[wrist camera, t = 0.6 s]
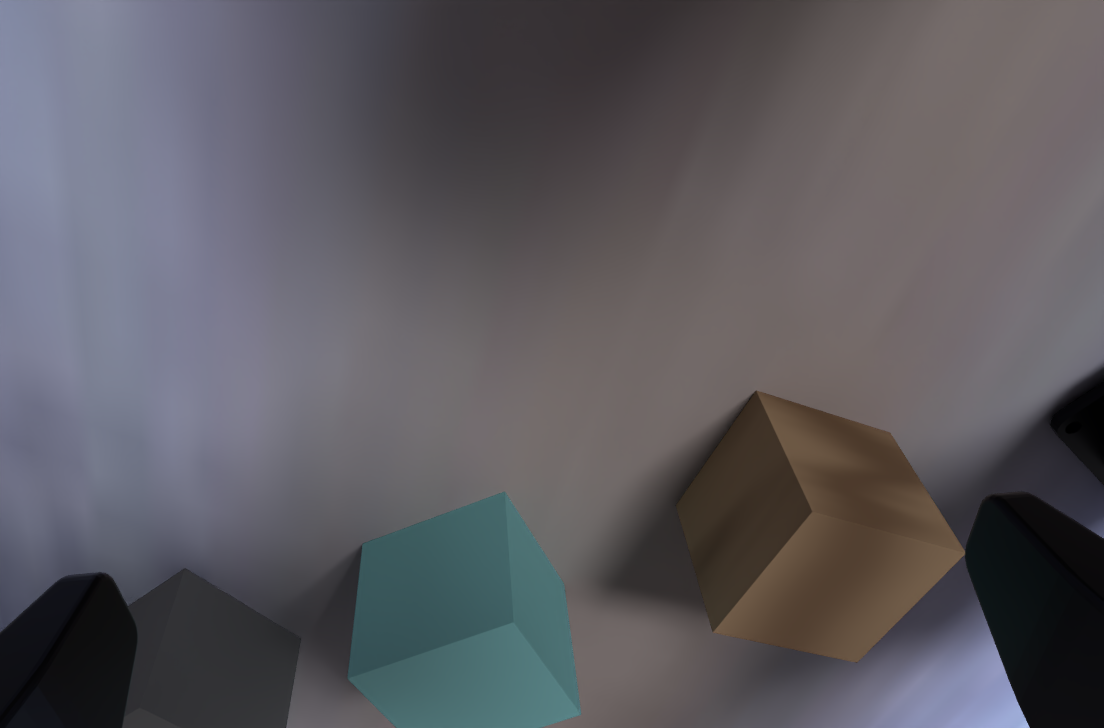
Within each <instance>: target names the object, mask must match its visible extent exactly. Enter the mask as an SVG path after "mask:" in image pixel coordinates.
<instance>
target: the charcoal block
mask: <svg viewBox="0 0 1104 728" xmlns="http://www.w3.org/2000/svg"><path fill="white" fill-rule="evenodd" d="M128 608H129V610H130V612H131V614H132V616H133V618H134V620H135V623H136V626H137V632H138V644H137V650H136V656H135V661H134V667H133V672H132V678H131V683H130V689H129V694H128V700H127V705H126V711H125V716H124V722H123V727H122V728H286V724H287V718H288V712H289V707H290V701H291V695H292V689H293V683H294V677H295V671H296V665H297V660H298V654H299V648H300V642H301V638H299V637H297V636H296V635H294V634H292V633H291V632H289V631H287V630H286V629H284V628H283V627H281V626H279V625H278V624H276V623H274V622H273V621H271V620H269V619H268V618H266V617H264V616H263V615H261V614H260V613H258V612H256V611H255V610H253V609H251V608H250V607H248V606H246V605H245V604H243V603H241V602H240V601H238V600H237V599H235V598H233V597H232V596H230V595H228V594H227V593H225V592H223V591H222V590H220V589H218V588H217V587H215V586H214V585H212V584H210V583H209V582H207V581H205V580H204V579H202V578H200V577H199V576H197V575H195V574H194V573H192V572H191V571H189V570H187V569H186V568H185V569H183V570H182V571H180V572H179V573H177V574H176V575H174V576H173V577H171V578H170V579H168V580H167V581H165V582H164V583H162V584H161V585H159V586H158V587H156V588H155V589H153V590H152V591H150V592H149V593H147V594H146V595H144V596H143V597H141V598H140V599H138V600H137V601H135V602H134V603H132V604H131V605H129V606H128Z"/></svg>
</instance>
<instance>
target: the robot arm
mask: <svg viewBox="0 0 1104 728" xmlns="http://www.w3.org/2000/svg"><path fill="white" fill-rule="evenodd" d="M1050 426H1051V428H1052V430H1053V431H1054V432H1055V433H1056V434H1057V435H1058V437H1059V438H1060V439H1061V440H1062V441H1063V442H1064V443H1065V444H1066V445H1067V446H1068V447H1069V448H1070V449H1071V451H1072V452H1073V453H1074V454H1075V455H1076V456H1077V457H1078V458H1079V459H1080V460H1081V461H1082V462H1083V463H1084V464H1085V466H1086V467H1087V468H1088V469H1089V470H1090V471H1091V472H1092V473H1093V474H1094V475H1095V476H1096V477H1097V478H1098V479H1099V481H1100V482H1101V483H1102V484H1103V485H1104V382H1103V383H1101V384H1100V385H1098V386H1097V387H1095V388H1094V389H1092V390H1091V391H1089V392H1088V393H1086V394H1085V395H1083V396H1082V397H1080V398H1078V399H1077V400H1075V401H1074V402H1072V403H1071V404H1069V405H1068V406H1066V407H1065V408H1063V409H1062V410H1060V411H1059V412H1058V413H1057V414H1055V415H1054V416H1053V418H1052V419H1051V422H1050ZM965 561H966V566H967V569H968V573H969V575H970V578H971V581H972V583H973V586H974V589H975V591H976V594H977V597H978V599H979V602H980V605H981V607H982V610H983V612H984V615H985V618H986V620H987V623H988V626H989V628H990V631H991V634H992V636H993V639H994V642H995V644H996V647H997V650H998V652H999V655H1000V658H1001V660H1002V663H1003V666H1004V668H1005V671H1006V674H1007V676H1008V679H1009V682H1010V684H1011V686H1012V689H1013V691H1014V694H1015V696H1016V699H1017V701H1018V704H1019V706H1020V708H1021V710H1022V712H1023V714H1024V716H1025V718H1026V721H1027V723H1028V725H1029V727H1030V728H1104V538H1102V537H1100V536H1099V535H1097V534H1096V533H1094V532H1092V531H1091V530H1089V529H1088V528H1086V527H1084V526H1083V525H1081V524H1080V523H1078V522H1076V521H1075V520H1073V519H1072V518H1070V517H1068V516H1067V515H1065V514H1064V513H1062V512H1060V511H1059V510H1057V509H1056V508H1054V507H1052V506H1051V505H1049V504H1048V503H1046V502H1044V501H1043V500H1041V499H1040V498H1038V497H1036V496H1034V495H1032V494H1030V493H1027V492H1009V493H997V494H991V495H988V496H987V497H986V498H985V499H984V500H983V501H982V503H981V505H980V508H979V510H978V513H977V516H976V519H975V522H974V525H973V527H972V530H971V533H970V536H969V539H968V542H967V544H966V549H965ZM137 644H138V632H137V626H136V623H135V620H134V618H133V616H132V614H131V612H130V610H129V608H128V606H127V604H126V603H125V601H124V599H123V597H122V595H121V593H120V591H119V589H118V587H117V585H116V583H115V581H114V580H113V578H112V577H111V576H109V575H108V574H106V573H102V572H98V573H86V574H75V575H68V576H65V577H63V578H61V579H60V580H58V581H57V582H56V583H54V584H53V585H52V586H51V587H50V588H49V589H48V590H47V591H46V592H44V593H43V594H42V595H41V596H40V597H39V598H38V599H37V600H36V601H35V602H33V603H32V604H31V605H30V606H29V607H28V608H27V609H26V610H25V611H23V612H22V613H21V614H20V615H19V616H18V617H17V618H16V619H15V620H14V621H12V622H11V623H10V624H9V625H8V626H7V627H6V628H5V629H4V630H3V631H1V632H0V728H122V727H123V722H124V716H125V711H126V705H127V700H128V694H129V689H130V683H131V678H132V672H133V667H134V661H135V656H136V650H137Z"/></svg>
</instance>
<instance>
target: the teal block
mask: <svg viewBox="0 0 1104 728" xmlns="http://www.w3.org/2000/svg"><path fill="white" fill-rule="evenodd" d="M347 679H348V680H349V681H350V682H351V683H352V684H353V685H354V686H355V687H356V688H357V689H358V690H359V691H360V692H361V693H362V694H363V695H364V696H365V697H366V698H367V699H368V700H369V701H370V702H371V703H372V704H373V705H374V706H375V707H376V708H377V709H378V710H379V711H380V712H381V713H382V714H383V715H384V716H385V717H386V718H387V719H388V720H389V721H390V722H391V723H392V724H393V725H394V726H395V727H396V728H541V727H544V726H547V725H550V724H554V723H557V722H560V721H563V720H566V719H569V718H572V717H576V716H579V715H581V709H580V702H579V694H578V686H577V679H576V671H575V664H574V656H573V648H572V641H571V633H570V625H569V618H568V610H567V603H566V595H565V587H564V583H563V582H562V580H561V579H560V577H559V576H558V574H557V572H556V571H555V569H554V568H553V566H552V565H551V563H550V561H549V560H548V558H547V557H546V555H545V554H544V552H543V551H542V549H541V547H540V546H539V544H538V543H537V541H536V540H535V538H534V536H533V535H532V533H531V532H530V530H529V529H528V527H527V526H526V524H525V522H524V521H523V519H522V518H521V516H520V515H519V513H518V511H517V510H516V508H515V507H514V505H513V504H512V502H511V501H510V499H509V497H508V496H507V494H506V493H505V492H502V493H499V494H497V495H494V496H491V497H489V498H486V499H483V500H480V501H478V502H475V503H472V504H469V505H467V506H464V507H461V508H459V509H456V510H453V511H450V512H448V513H445V514H442V515H439V516H437V517H434V518H431V519H429V520H426V521H423V522H420V523H418V524H415V525H412V526H409V527H407V528H404V529H401V530H399V531H396V532H393V533H390V534H388V535H385V536H382V537H379V538H377V539H374V540H371V541H369V542H366V543H363V546H362V555H361V563H360V572H359V581H358V590H357V599H356V608H355V616H354V625H353V634H352V643H351V652H350V661H349V670H348V678H347Z"/></svg>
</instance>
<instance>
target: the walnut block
mask: <svg viewBox="0 0 1104 728" xmlns="http://www.w3.org/2000/svg"><path fill="white" fill-rule="evenodd" d="M676 508H677V511H678V514H679V518H680V521H681V525H682V528H683V532H684V535H685V539H686V542H687V545H688V549H689V552H690V556H691V559H692V563H693V566H694V569H695V573H696V576H697V580H698V583H699V587H700V590H701V594H702V597H703V600H704V604H705V607H706V611H707V614H708V618H709V621H710V625H711V628H712V631H713V633H717V634H722V635H727V636H731V637H736V638H741V639H746V640H751V641H755V642H760V643H765V644H770V645H775V646H779V647H784V648H789V649H794V650H799V651H803V652H808V653H813V654H818V655H823V656H827V657H832V658H837V659H842V660H847V661H851V662H856V663H857V662H858V661H859V660H860V659H861V658H862V657H863V656H864V655H865V654H866V653H867V652H868V651H869V650H870V649H871V648H872V647H873V646H874V645H875V644H876V643H877V642H878V641H879V640H880V639H881V638H882V637H883V636H884V635H885V634H886V633H887V632H888V631H889V630H890V629H891V628H892V627H893V626H894V625H895V624H896V623H897V622H898V621H899V620H900V619H901V618H902V617H903V616H904V615H905V614H906V613H907V612H908V611H909V610H910V609H911V608H912V607H913V606H914V605H915V604H916V603H917V602H918V601H919V600H920V599H921V598H922V597H923V596H924V595H925V594H926V593H927V592H928V591H929V590H930V589H931V588H932V587H933V586H934V585H935V584H936V583H937V582H938V581H939V580H940V579H941V578H942V577H943V576H944V575H945V574H946V573H947V572H948V571H949V570H950V569H951V568H952V567H953V566H954V565H955V564H956V563H957V562H958V561H959V560H960V559H961V558H962V557H963V556H964V555H965V551H964V549H963V547H962V546H961V544H960V543H959V541H958V539H957V538H956V536H955V535H954V533H953V532H952V530H951V528H950V527H949V525H948V524H947V522H946V520H945V519H944V517H943V516H942V514H941V513H940V511H939V509H938V508H937V506H936V505H935V503H934V501H933V500H932V498H931V497H930V495H929V493H928V492H927V490H926V489H925V487H924V486H923V484H922V482H921V481H920V479H919V478H918V476H917V474H916V473H915V471H914V470H913V468H912V467H911V465H910V463H909V462H908V460H907V459H906V457H905V455H904V454H903V452H902V451H901V449H900V447H899V446H898V444H897V443H896V441H895V440H894V438H893V436H892V435H891V433H889V432H886V431H883V430H880V429H877V428H873V427H870V426H867V425H864V424H861V423H858V422H854V421H851V420H848V419H845V418H842V417H838V416H835V415H832V414H829V413H826V412H823V411H819V410H816V409H813V408H810V407H807V406H804V405H800V404H797V403H794V402H791V401H788V400H785V399H781V398H778V397H775V396H772V395H769V394H766V393H762V392H759V391H755V393H754V394H753V396H752V397H751V399H750V400H749V401H748V403H747V404H746V406H745V407H744V409H743V410H742V411H741V413H740V414H739V416H738V417H737V419H736V420H735V421H734V423H733V424H732V426H731V427H730V429H729V430H728V431H727V433H726V434H725V436H724V437H723V439H722V440H721V441H720V443H719V444H718V446H717V447H716V449H715V450H714V452H713V453H712V454H711V456H710V457H709V459H708V460H707V462H706V463H705V464H704V466H703V467H702V469H701V470H700V472H699V473H698V474H697V476H696V477H695V479H694V480H693V482H692V483H691V484H690V486H689V487H688V489H687V490H686V492H685V493H684V494H683V496H682V497H681V499H680V500H679V502H678V503H677V505H676Z"/></svg>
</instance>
